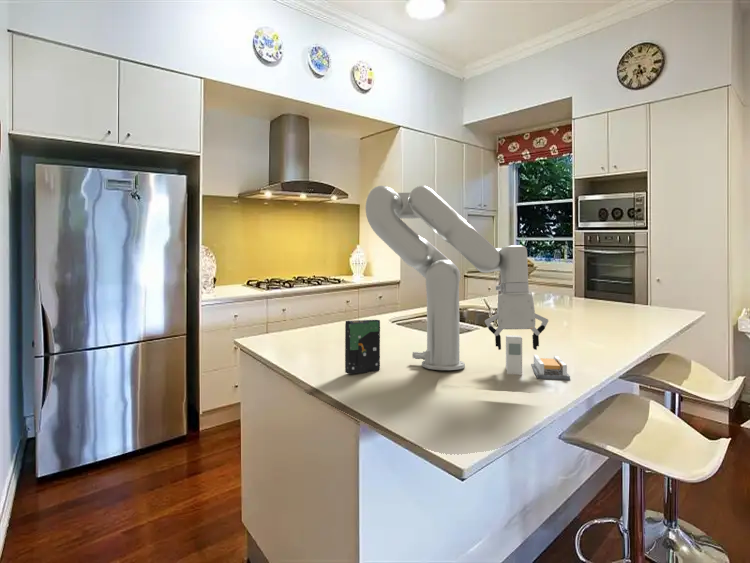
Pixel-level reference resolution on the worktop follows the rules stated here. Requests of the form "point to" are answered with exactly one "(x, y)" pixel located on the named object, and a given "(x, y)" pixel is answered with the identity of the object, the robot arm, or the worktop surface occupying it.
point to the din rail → (550, 370)
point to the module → (514, 354)
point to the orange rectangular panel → (550, 363)
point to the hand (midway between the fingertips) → (517, 349)
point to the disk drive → (362, 346)
